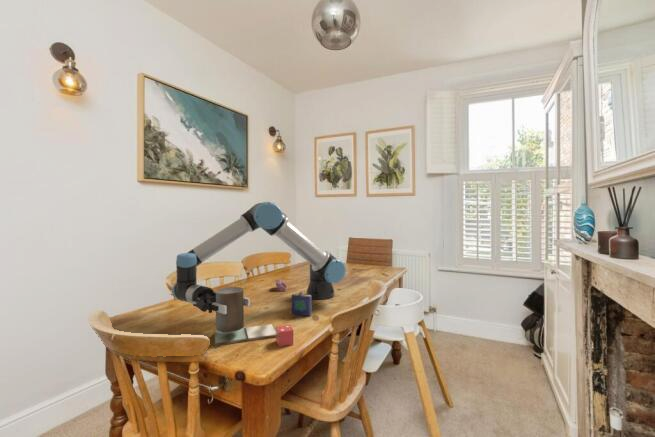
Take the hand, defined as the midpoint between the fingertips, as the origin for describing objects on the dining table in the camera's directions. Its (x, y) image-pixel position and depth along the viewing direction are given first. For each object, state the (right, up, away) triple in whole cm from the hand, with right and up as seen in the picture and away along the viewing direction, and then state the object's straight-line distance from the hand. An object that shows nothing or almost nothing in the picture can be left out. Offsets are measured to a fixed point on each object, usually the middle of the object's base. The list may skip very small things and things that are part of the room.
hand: (237, 306), depth 107 cm
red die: (+17, -12, -1) cm, 21 cm away
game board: (+2, -12, +5) cm, 13 cm away
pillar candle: (-4, -9, +3) cm, 10 cm away
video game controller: (+5, -11, +70) cm, 70 cm away
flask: (+20, -12, +27) cm, 35 cm away
